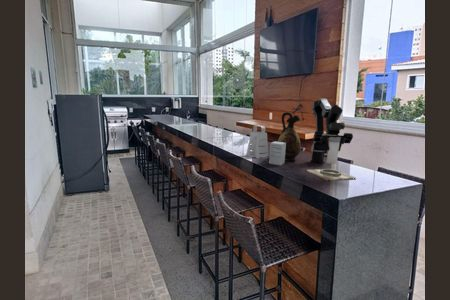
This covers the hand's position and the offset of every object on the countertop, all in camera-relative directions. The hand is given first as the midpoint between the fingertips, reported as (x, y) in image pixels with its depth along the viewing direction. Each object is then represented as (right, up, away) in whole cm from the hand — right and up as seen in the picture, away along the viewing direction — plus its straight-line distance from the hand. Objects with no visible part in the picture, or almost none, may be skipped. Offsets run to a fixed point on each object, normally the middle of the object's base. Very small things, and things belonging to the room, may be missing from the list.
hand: (333, 150), depth 138 cm
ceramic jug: (-15, -6, +39) cm, 43 cm away
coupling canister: (0, -6, +3) cm, 7 cm away
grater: (-34, -4, +44) cm, 55 cm away
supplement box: (-24, -8, +24) cm, 35 cm away
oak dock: (0, -13, +4) cm, 13 cm away
